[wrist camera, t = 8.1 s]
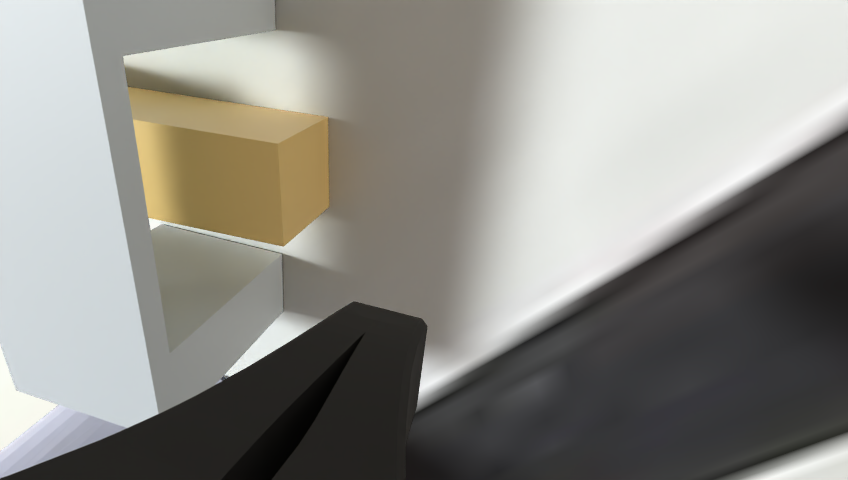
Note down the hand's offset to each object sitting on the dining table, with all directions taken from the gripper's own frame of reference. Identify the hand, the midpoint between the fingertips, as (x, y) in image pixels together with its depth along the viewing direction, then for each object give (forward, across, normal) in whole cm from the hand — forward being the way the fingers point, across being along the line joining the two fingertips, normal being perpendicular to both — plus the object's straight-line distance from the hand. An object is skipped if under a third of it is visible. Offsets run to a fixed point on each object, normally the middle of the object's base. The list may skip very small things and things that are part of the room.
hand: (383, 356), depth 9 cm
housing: (+8, +9, 0) cm, 12 cm away
